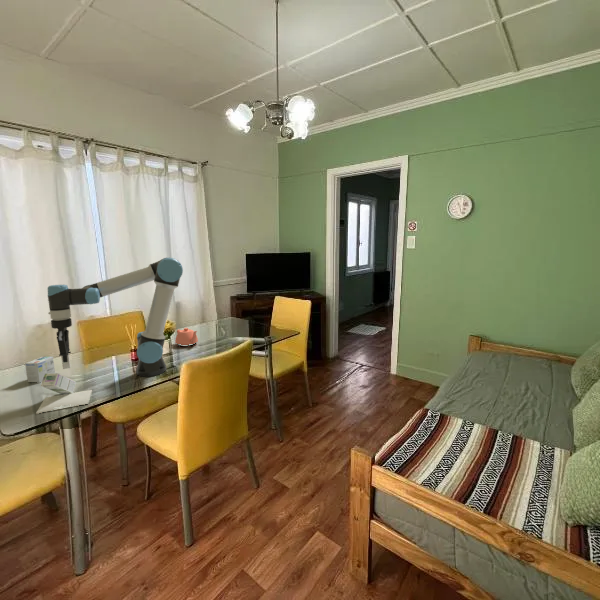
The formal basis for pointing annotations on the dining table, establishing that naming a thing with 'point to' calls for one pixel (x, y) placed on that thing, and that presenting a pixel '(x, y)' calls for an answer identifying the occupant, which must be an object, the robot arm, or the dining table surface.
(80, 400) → the mat
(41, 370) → the light bulb box
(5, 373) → the dining table surface
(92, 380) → the dining table surface
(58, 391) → the syrup box
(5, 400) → the dining table surface
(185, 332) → the teapot
